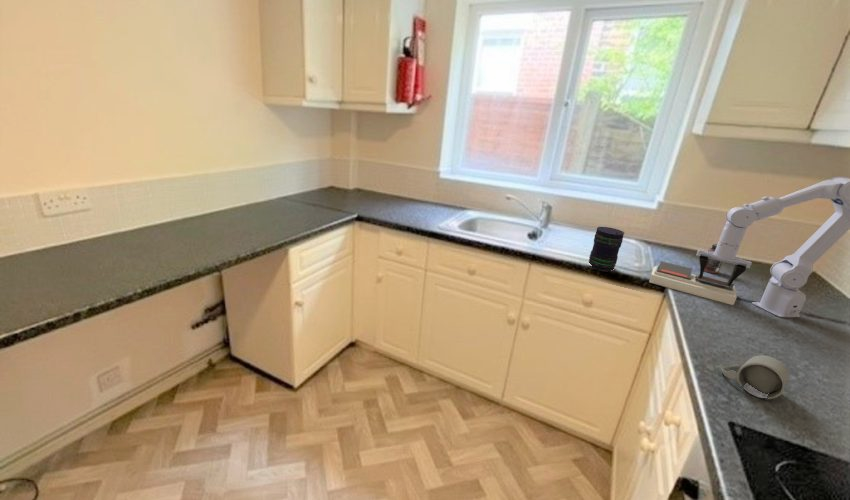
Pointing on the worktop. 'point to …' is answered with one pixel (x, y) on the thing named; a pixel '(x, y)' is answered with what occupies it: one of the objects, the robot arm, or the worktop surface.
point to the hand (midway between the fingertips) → (714, 281)
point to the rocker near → (714, 281)
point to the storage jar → (606, 248)
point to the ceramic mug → (760, 375)
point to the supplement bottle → (713, 262)
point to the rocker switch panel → (695, 286)
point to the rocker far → (674, 270)
